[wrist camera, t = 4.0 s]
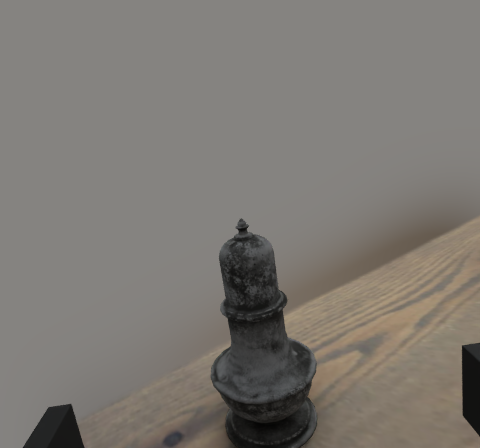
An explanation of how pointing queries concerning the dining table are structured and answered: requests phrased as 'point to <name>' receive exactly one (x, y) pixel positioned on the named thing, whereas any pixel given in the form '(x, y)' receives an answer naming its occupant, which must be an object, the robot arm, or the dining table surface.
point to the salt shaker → (261, 353)
